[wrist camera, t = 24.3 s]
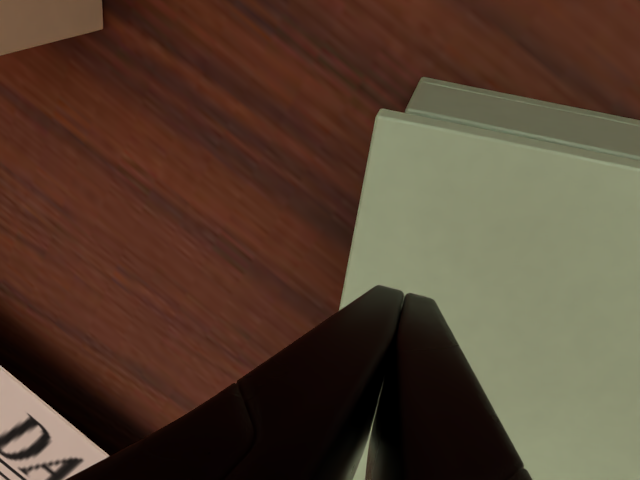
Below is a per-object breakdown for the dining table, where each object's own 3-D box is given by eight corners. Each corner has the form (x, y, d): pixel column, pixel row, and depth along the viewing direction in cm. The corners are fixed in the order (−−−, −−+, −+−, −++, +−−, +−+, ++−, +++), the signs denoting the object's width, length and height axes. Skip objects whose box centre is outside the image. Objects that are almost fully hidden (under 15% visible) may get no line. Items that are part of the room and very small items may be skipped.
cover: (311, 466, 18) (306, 482, 17) (379, 107, 12) (376, 114, 12) (698, 577, 16) (705, 598, 16) (970, 226, 11) (994, 241, 10)
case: (351, 391, 21) (329, 461, 18) (420, 75, 15) (405, 107, 13) (669, 484, 19) (698, 576, 17) (874, 166, 14) (969, 226, 11)
